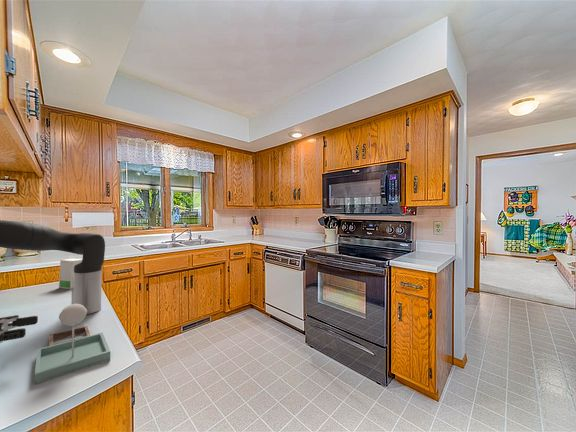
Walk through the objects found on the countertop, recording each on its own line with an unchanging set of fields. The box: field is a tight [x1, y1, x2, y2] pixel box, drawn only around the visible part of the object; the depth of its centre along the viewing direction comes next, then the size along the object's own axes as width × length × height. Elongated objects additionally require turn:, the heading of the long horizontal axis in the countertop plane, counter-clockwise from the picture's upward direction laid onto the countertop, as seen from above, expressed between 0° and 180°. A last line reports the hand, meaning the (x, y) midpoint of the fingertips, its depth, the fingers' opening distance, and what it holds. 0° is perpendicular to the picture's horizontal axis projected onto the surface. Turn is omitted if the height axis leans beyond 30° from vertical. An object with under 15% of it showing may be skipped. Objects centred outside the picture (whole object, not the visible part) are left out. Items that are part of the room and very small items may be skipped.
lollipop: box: [58, 304, 88, 357], centre depth 71 cm, size 6×6×15 cm
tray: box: [34, 332, 111, 385], centre depth 71 cm, size 15×15×2 cm
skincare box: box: [58, 257, 83, 290], centre depth 139 cm, size 8×7×16 cm
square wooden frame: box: [49, 325, 91, 346], centre depth 81 cm, size 10×10×2 cm
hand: (31, 325), depth 67 cm, fingers open, 8 cm apart
